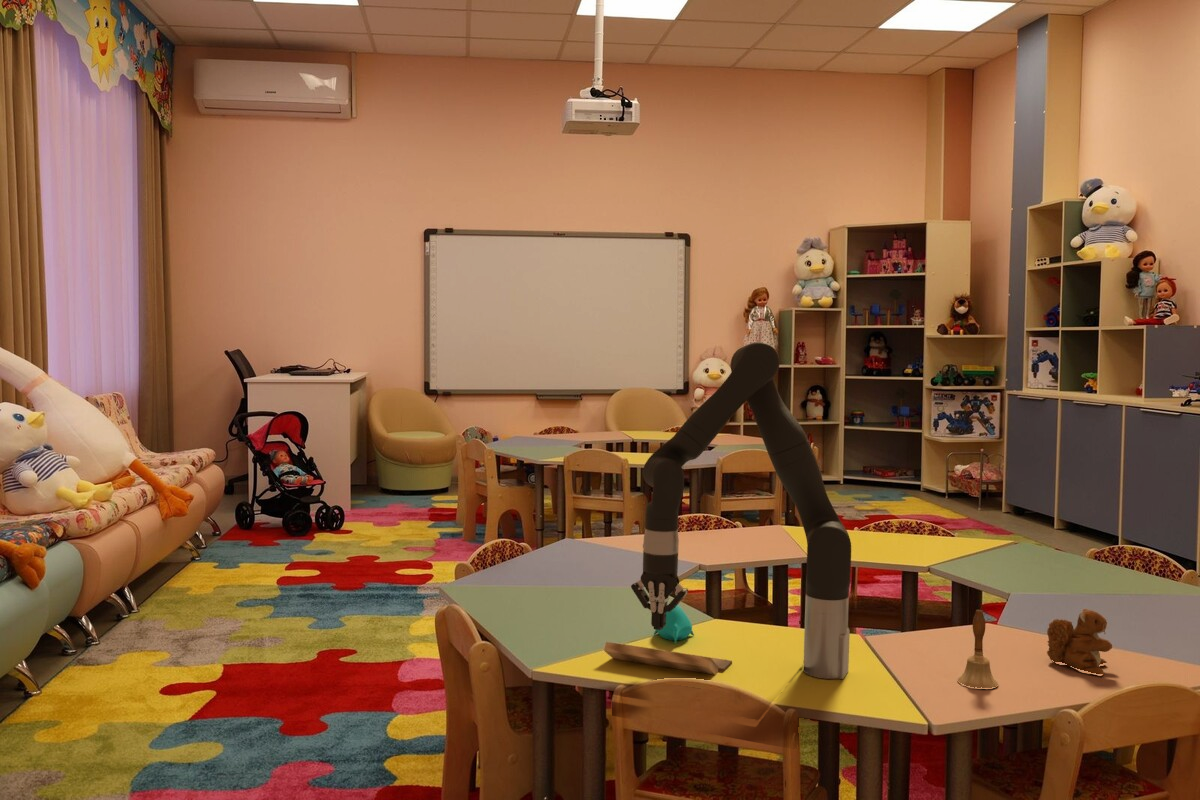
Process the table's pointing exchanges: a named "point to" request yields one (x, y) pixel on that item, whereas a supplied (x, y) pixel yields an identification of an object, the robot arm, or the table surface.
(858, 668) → the table surface
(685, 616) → the toy shark
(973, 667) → the hand bell
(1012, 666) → the table surface
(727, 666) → the base strip
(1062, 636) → the stuffed squirrel
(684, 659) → the plank
